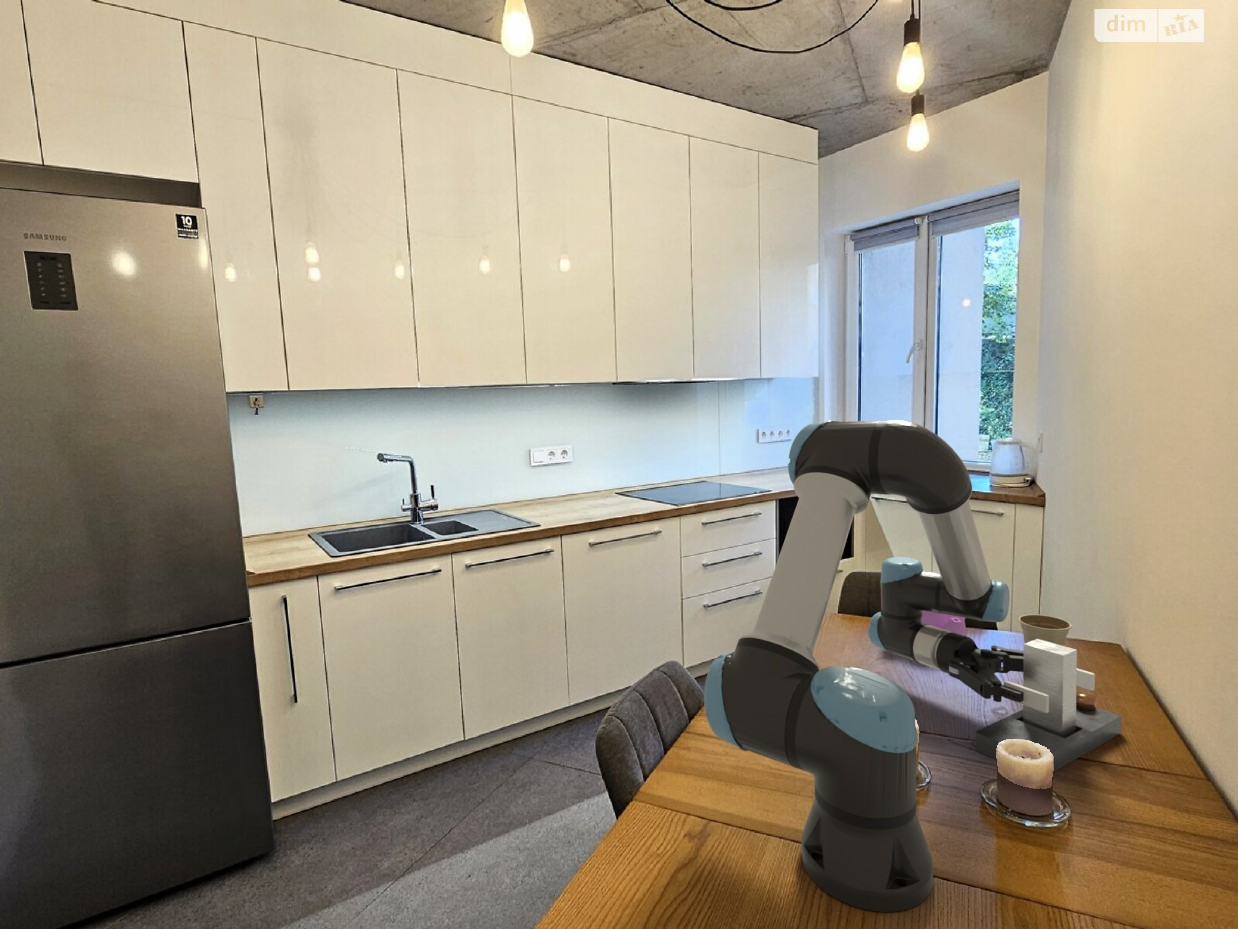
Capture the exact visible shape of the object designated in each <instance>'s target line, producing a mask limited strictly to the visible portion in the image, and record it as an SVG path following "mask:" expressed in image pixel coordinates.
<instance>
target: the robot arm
mask: <svg viewBox="0 0 1238 929" xmlns="http://www.w3.org/2000/svg"><path fill="white" fill-rule="evenodd" d="M788 454H789V455H788V459H789V463H788V464H787V472H788V476H789V479H790V481H791V483H792V485H793V490H794V493H795V494H796V496H797V497H798V501H797V504H796V507H795V509H794V512H793V516H792V518H791V521H790V523H789V527H788V530H787V533H786V535H785V539H784V542H783V544H782V547H781V550H780V553H779V556H778V558H777V561H776V564H775V567H774V569H773V573H772V576H771V579H770V581H769V584H768V587H767V589H766V590H767V591H766V594H765V596H764V599H763V601H762V605H761V607H760V611H759V613H758V616H757V619H756V622H755V624H754V628H753V631H751V632H749V633H746V634H744V635H741V636H740V637H739V639H738V641H737V644H736V647H735V649H734V651H733V652H734V653H731V652H727V653H725V652H724V653H722V654H719V655H718V656H717V658H715V659H714V660H713V661H712V663H711V665H710V667H709V670H708V672H707V675H706V677H705V678H706V679H705V684H704V693H703V694H704V695H703V696H704V697H703V698H704V700H703V701H704V709H705V716H706V720H707V722H708V725H709V727H710V729H711V731H712V732H713V734H714V735H715V737H718V739H720V740H721V741H723V742H726V743H727V744H730V745H731V746H732V745H733V746H735V747H736V748H738V749H739V750H741V751H743V752H752V753H754V754H757V755H760V756H762V757H764V758H768V759H770V760H772V761H775V762H779V763H781V764H784V765H787V766H789V767H792V768H795V769H798V770H800V771H804V772H806V773H809V774H811V775H812V776H814V799H813V802H812V805H811V806H810V810H809V813H808V816H807V819H806V822H805V824H804V828H803V831H802V834H801V843H800V844H801V862H802V865H803V867H804V870H805V872H806V873H807V875H808V876H809V878H810V879H811V880H812V881H813V882H814V884H816V886H818V887H819V888H820V889H821V890H823V891H824V892H825V893H826V894H827V895H830V896H831V897H833V898H835V899H836V900H839V901H840V902H842V903H844V904H847V905H849V906H852V907H856V908H859V909H863V910H867V911H873V912H885V913H886V912H887V913H888V912H890V913H891V912H901V911H905V910H909V909H911V908H914V907H916V906H918V905H920V904H921V903H923V902H925V901H926V899H927V898H928V897H929V895H930V894H931V893H932V889H933V885H934V865H933V858H932V857H933V856H932V855H931V852H930V849H929V845H928V844H927V839H926V837H925V835H924V831H923V828H922V825H921V823H920V821H919V817H918V815H917V745H918V741H919V740H918V735H919V734H918V729H917V728H916V727H917V726H916V716H915V714H916V712H915V707H914V703H913V701H912V700H911V697H910V696H909V695H908V693H906V692H905V691H904V689H903V688H902V687H901V686H899V684H897V683H896V682H894V681H893V680H891V679H889V678H888V677H886V676H885V675H881V674H880V673H876V672H874V671H871V670H868V669H864V668H860V667H855V666H847V667H843V666H841V665H833V666H826V667H824V668H822V669H821V668H820V666H819V663H818V662H817V659H816V657H815V656H814V650H815V647H816V643H817V640H818V637H819V635H820V634H819V633H820V629H821V627H822V624H823V621H824V616H825V613H826V610H827V606H828V603H829V601H830V597H831V593H832V589H833V586H834V583H835V580H836V576H837V573H838V570H839V566H840V563H841V560H842V556H843V554H844V549H845V548H846V547H845V546H846V543H847V539H848V535H849V533H850V529H851V526H852V523H853V520H854V516H855V515H858V514H860V513H863V512H864V511H865V510H866V509H867V507H868V505H869V501H870V498H871V495H888V496H889V495H893V496H900V497H903V498H905V500H906V502H907V504H908V506H909V507H910V508H911V509H912V510H914V511H915V512H917V513H918V515H919V518H920V521H921V524H922V526H923V530H924V532H925V535H926V538H927V540H928V544H929V546H930V548H931V551H932V554H933V557H934V560H935V562H936V565H937V567H938V570H939V573H937V572H930V571H924V568H923V564H922V562H921V561H920V560H919V559H916V558H912V557H908V556H907V557H906V556H893V557H889V558H887V559H885V560H883V561H882V563H881V568H880V569H881V571H880V580H879V583H880V602H881V603H880V604H881V605H880V609H881V611H878V612H877V613H875V614H874V615H873V616H871V619H870V620H869V623H870V624H869V626H868V628H867V635H868V638H869V640H870V642H871V643H872V644H873V646H875V647H877V648H879V649H881V650H882V651H883V650H884V651H885V652H887V653H889V654H891V655H896V656H899V657H902V658H905V659H908V660H910V661H911V660H912V661H914V662H916V663H919V664H921V665H924V666H927V667H929V668H930V669H931V670H938V671H941V672H943V673H946V674H948V676H950V677H951V678H954V679H956V680H959V681H960V682H961V683H962V684H964V685H966V686H967V687H968V688H970V689H971V690H973V692H975V693H976V694H977V695H979V696H980V697H982V698H984V699H987V700H991V699H992V701H993V702H995V703H1001V702H1002V698H1004V699H1007V700H1008V701H1011V702H1015V703H1017V704H1020V705H1022V706H1023V705H1025V706H1028V707H1031V708H1033V709H1036V710H1039V711H1041V712H1044V713H1048V712H1049V695H1048V694H1045V693H1042V692H1039V691H1036V690H1033V689H1030V688H1027V687H1024V686H1023V685H1021V684H1018V683H1016V682H1012V681H1009V680H1007V679H1006V680H1004V681H1003V684H1002V681H1001V680H1000V679H999V677H998V676H997V675H996V674H997V673H999V674H1008V673H1009V672H1016V673H1017V672H1019V673H1023V661H1024V650H1020V649H1011V648H1006V647H1002V646H998V645H991V646H990V649H989V648H988V649H987V648H986V649H984V648H982V649H980V648H979V647H978V646H977V644H976V642H975V640H974V639H973V638H972V637H969V636H968V635H967V636H963V635H960V634H957V633H953V632H950V631H948V630H944V629H941V628H937V627H934V626H930V625H927V624H924V623H922V610H923V611H929V612H935V613H941V614H947V615H953V616H959V617H964V618H965V619H969V620H970V619H972V620H977V621H979V622H992V623H1001V622H1004V621H1005V620H1006V619H1007V616H1008V613H1009V608H1010V590H1009V586H1008V584H1007V583H1005V582H1004V581H1000V580H996V579H993V578H992V579H991V577H990V574H989V571H988V567H987V562H986V559H985V556H984V552H983V548H982V544H981V540H980V537H979V534H978V530H977V527H976V523H975V520H974V516H973V512H972V509H971V505H970V502H969V500H970V498H971V496H972V494H973V484H972V481H971V476H970V474H969V471H968V469H967V466H966V465H965V463H964V462H963V460H962V458H961V457H960V456H959V455H958V453H957V452H956V451H955V450H954V449H953V447H952V446H950V445H949V444H948V443H947V442H946V441H945V440H944V439H943V438H941V437H940V436H939V435H938V434H936V433H935V432H933V431H931V430H930V429H928V428H926V427H924V426H922V425H921V424H918V423H916V422H911V421H907V420H901V419H890V420H860V421H859V420H856V421H850V420H849V421H848V420H847V421H838V420H827V421H820V422H813V423H809V424H807V425H806V426H804V427H803V428H802V429H800V431H799V432H798V433H797V435H796V436H795V438H794V439H793V441H792V444H791V446H790V450H789V453H788ZM1095 679H1096V674H1095V673H1094V672H1091V671H1087V670H1084V669H1080V668H1078V667H1077V679H1076V687H1079V688H1082V689H1085V690H1089V691H1091V692H1093V691H1095V688H1096V687H1095V685H1096V684H1095V683H1096V682H1095V681H1096V680H1095ZM992 697H993V698H992Z"/></svg>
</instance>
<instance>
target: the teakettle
mask: <svg viewBox="0 0 1238 929" xmlns="http://www.w3.org/2000/svg"><path fill="white" fill-rule="evenodd" d="M965 620H966V618H964V617H959V616H953V615H947V614H941V613H935V612H929V611H923V610H922V623H924V624H927V625H930V626H934V627H937V628H941V629H944V630H948V631H950V632H953V633H957V634H960V635H963V636H967V637H968V635H967V627H966V622H965Z"/></svg>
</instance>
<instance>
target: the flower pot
mask: <svg viewBox="0 0 1238 929" xmlns="http://www.w3.org/2000/svg"><path fill="white" fill-rule="evenodd" d="M1017 619H1018V622H1019V623H1020V627H1021V629H1022V635H1023V641H1024V643H1023V644H1025V643H1028V642H1030V641H1033V640H1036V639H1040V640H1043V641H1047V642H1050V643H1054V644H1058V645H1061V646H1065V647H1066V640H1067V636H1068V634H1069V632H1070V630H1071V629H1072V626H1073V624H1072V623H1070V622H1069V621H1068V620H1065V619H1063V618H1059V617H1056V616H1052V615H1051V616H1050V615H1046V614H1045V615H1044V614H1023V615H1020V616H1019V617H1018V618H1017Z"/></svg>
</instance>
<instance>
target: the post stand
mask: <svg viewBox="0 0 1238 929" xmlns="http://www.w3.org/2000/svg"><path fill="white" fill-rule="evenodd" d="M1096 703H1097V696H1096V695H1095V694H1094V693H1092V692H1089V691H1084V690H1076V733H1074V734H1072V735H1070V736H1069V737H1067V738H1062V737H1060V736H1057V735H1055V734H1052V733H1050V732H1047V731H1045V730H1042V729H1039V728H1037V727H1034V726H1032V725H1029V724H1027V723H1024V722H1023V709H1020V710H1018V711H1016V712H1015V713H1012V714H1010V715H1008V716H1006V717H1004V718H1002V719H1000V720H997V721H995V722H993V723H991V724H988V725H987V726H985V727H982V728H980V729H978V730H976V731H974V750H975V751H976V752H980V754H981V753H982V754H983V755H985V756H988V757H990V758H992V757H993V758H992V759H995V760H996V748H997V745H998V743H999V742H1001V741H1003V740H1006V739H1025V740H1030V741H1032V742H1034V743H1039V744H1040V745H1042V746H1045V747H1047V749H1050V752H1051V753H1052V754H1053V756H1054V772H1056V771H1058V770H1060V769H1061V768H1063V767H1064V766H1066V765H1068V764H1070V763H1072V762H1073V761H1075V760H1077V759H1079V758H1080V757H1082V756H1084V755H1085V754H1087V753H1089V752H1091V751H1092V750H1094V749H1096V748H1097V747H1100V746H1101V745H1103V744H1104V743H1106V742H1108V741H1110V740H1112V739H1113V738H1115V737H1117V736H1118V735H1121V730H1122V729H1121V727H1122V715H1119V714H1117V713H1113V712H1111V711H1108V710H1105V709H1101V708H1098V707H1097V704H1096ZM1114 736H1115V737H1114Z"/></svg>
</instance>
